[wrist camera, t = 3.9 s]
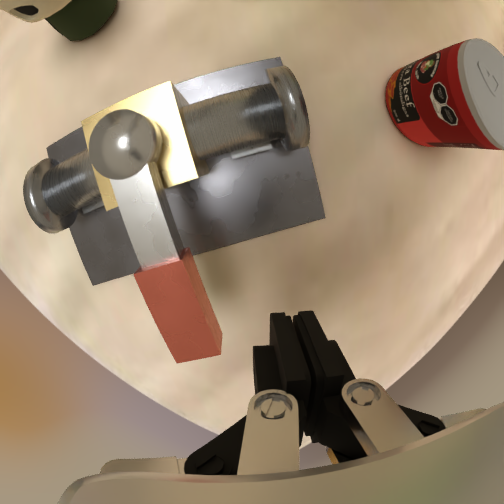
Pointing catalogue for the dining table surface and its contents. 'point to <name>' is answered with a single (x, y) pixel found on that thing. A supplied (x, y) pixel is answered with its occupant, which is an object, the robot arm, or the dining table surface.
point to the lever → (155, 234)
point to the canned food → (451, 97)
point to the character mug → (63, 14)
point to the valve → (191, 167)
